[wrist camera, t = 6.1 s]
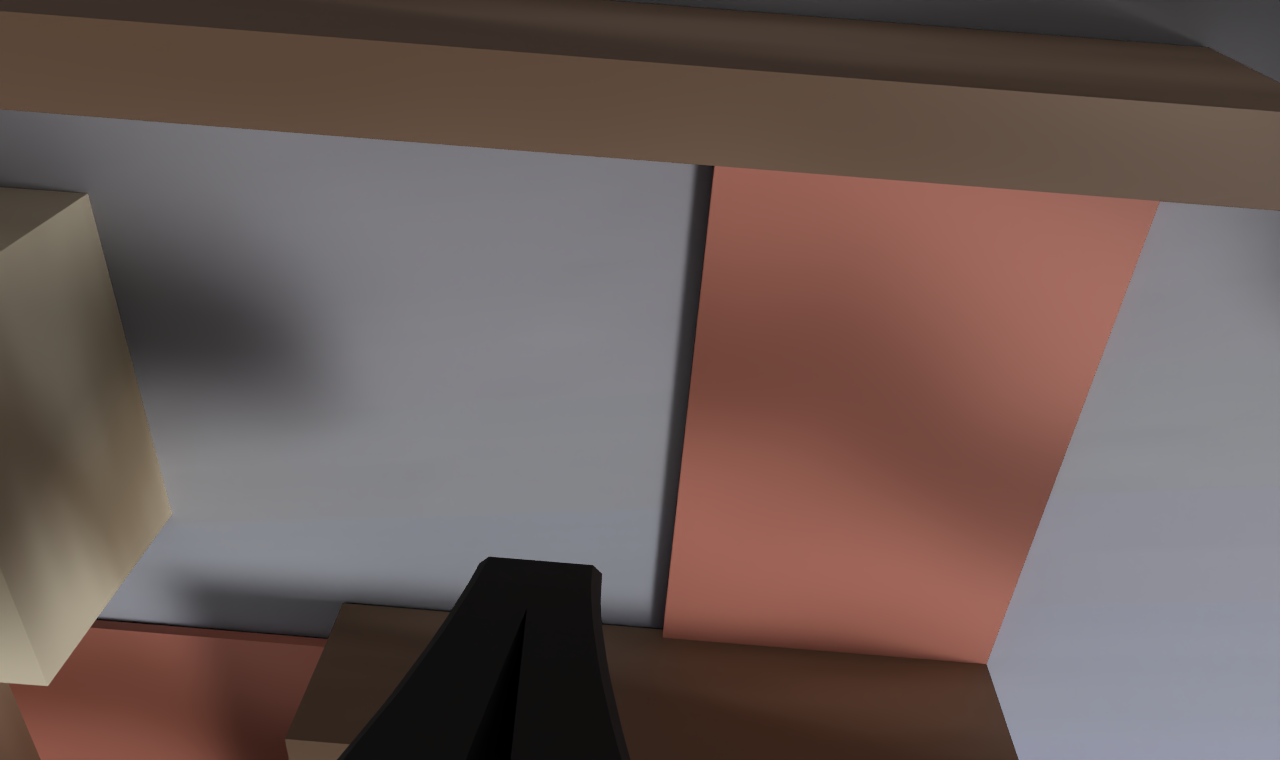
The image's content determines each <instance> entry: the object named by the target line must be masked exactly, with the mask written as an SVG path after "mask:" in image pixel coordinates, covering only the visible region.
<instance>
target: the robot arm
mask: <svg viewBox="0 0 1280 760" xmlns="http://www.w3.org/2000/svg"><path fill="white" fill-rule="evenodd" d="M601 583H602V573H601V572H599V571H598V570H597V569H596V568H595V567H594V566H593V565H583V564H571V563H559V562H547V561H535V560H522V559H510V558H498V557H488V558H487V559H485V560H484V561H482V562H481V563H479V565H478V567H477V569H476V571H475V573H474V574H473V576H472V578H471V580H470V581H469V583H468V585H467V586H466V588H465V590H464V591H463V593H462V594H461V596H460V598H459V599H458V601H457V602H456V604H455V606H454V607H453V609H452V610H451V612H450V613H449V615H448V616H447V618H446V619H445V621H444V622H443V624H442V625H441V627H440V628H439V629H438V631H437V632H436V634H435V635H434V637H433V638H432V640H431V641H430V643H429V644H428V645H427V647H426V648H425V649H424V651H423V652H422V653H421V655H420V656H419V658H418V659H417V660H416V662H415V663H414V664H413V666H412V667H411V668H410V670H409V671H408V672H407V674H406V675H405V676H404V678H403V679H402V680H401V682H400V683H399V684H398V686H397V687H396V688H395V690H394V691H393V692H392V694H391V695H390V696H389V697H388V699H387V700H386V701H385V703H384V704H383V705H382V706H381V708H380V709H379V710H378V711H377V712H376V714H375V715H374V716H373V717H372V718H371V720H370V721H369V722H368V723H367V724H366V726H365V727H364V728H363V729H362V730H361V732H360V733H359V734H358V735H357V736H356V738H355V739H354V740H353V741H352V742H351V743H350V745H349V746H348V747H347V748H346V749H345V751H344V752H343V753H342V754H341V755H340V757H339V758H338V759H337V760H630V756H629V753H628V749H627V745H626V742H625V738H624V734H623V731H622V727H621V722H620V718H619V714H618V709H617V705H616V701H615V696H614V692H613V688H612V683H611V679H610V673H609V668H608V663H607V657H606V650H605V643H604V636H603V629H602V618H601Z"/></svg>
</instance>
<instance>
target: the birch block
mask: <svg viewBox="0 0 1280 760" xmlns="http://www.w3.org/2000/svg"><path fill="white" fill-rule="evenodd" d="M171 515H172V513H171V509H170V505H169V501H168V498H167V494H166V490H165V486H164V482H163V478H162V475H161V471H160V467H159V463H158V459H157V456H156V452H155V448H154V444H153V440H152V437H151V433H150V429H149V425H148V421H147V417H146V414H145V410H144V406H143V402H142V398H141V395H140V391H139V387H138V383H137V379H136V376H135V372H134V368H133V364H132V360H131V356H130V353H129V349H128V345H127V341H126V337H125V334H124V330H123V326H122V322H121V318H120V314H119V311H118V307H117V303H116V299H115V295H114V292H113V288H112V284H111V280H110V276H109V273H108V269H107V265H106V261H105V257H104V253H103V250H102V246H101V242H100V238H99V234H98V231H97V227H96V223H95V219H94V215H93V212H92V208H91V204H90V200H89V196H88V193H75V192H61V191H47V190H34V189H20V188H6V187H0V682H2V683H15V684H27V685H40V686H48V685H49V684H50V683H51V681H52V680H53V678H54V677H55V676H56V674H57V673H58V671H59V670H60V669H61V667H62V666H63V665H64V663H65V662H66V660H67V659H68V658H69V656H70V655H71V653H72V652H73V651H74V649H75V648H76V647H77V645H78V644H79V642H80V641H81V640H82V638H83V637H84V635H85V634H86V633H87V631H88V630H89V629H90V627H91V626H92V624H93V623H94V622H95V620H96V619H97V617H98V616H99V615H100V613H101V612H102V611H103V609H104V608H105V606H106V605H107V604H108V602H109V601H110V599H111V598H112V597H113V595H114V594H115V593H116V591H117V590H118V588H119V587H120V586H121V584H122V583H123V581H124V580H125V579H126V577H127V576H128V575H129V573H130V572H131V570H132V569H133V568H134V566H135V565H136V563H137V562H138V561H139V559H140V558H141V557H142V555H143V554H144V552H145V551H146V550H147V548H148V547H149V545H150V544H151V543H152V541H153V540H154V538H155V537H156V536H157V534H158V533H159V532H160V530H161V529H162V527H163V526H164V525H165V523H166V522H167V520H168V519H169V518H170V516H171Z"/></svg>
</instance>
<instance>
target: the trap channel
mask: <svg viewBox="0 0 1280 760" xmlns="http://www.w3.org/2000/svg"><path fill="white" fill-rule="evenodd" d="M0 109H4V110H17V111H29V112H42V113H54V114H67V115H80V116H92V117H105V118H117V119H130V120H143V121H155V122H168V123H180V124H193V125H206V126H218V127H231V128H243V129H256V130H269V131H281V132H294V133H306V134H319V135H332V136H344V137H357V138H369V139H382V140H395V141H407V142H420V143H432V144H445V145H458V146H470V147H483V148H495V149H508V150H521V151H533V152H546V153H558V154H571V155H584V156H596V157H609V158H621V159H634V160H647V161H659V162H672V163H684V164H697V165H710V166H714V169H713V178H712V187H711V197H710V206H709V215H708V224H707V233H706V242H705V251H704V260H703V269H702V278H701V287H700V296H699V306H698V315H697V324H696V333H695V342H694V351H693V360H692V369H691V378H690V387H689V396H688V405H687V414H686V424H685V433H684V442H683V451H682V460H681V469H680V478H679V487H678V496H677V505H676V514H675V523H674V532H673V542H672V551H671V560H670V569H669V578H668V587H667V596H666V605H665V614H664V623H663V630H662V629H650V628H638V627H626V626H614V625H602V629H603V636H604V643H605V650H606V657H607V663H608V668H609V673H610V679H611V683H612V688H613V692H614V696H615V701H616V705H617V709H618V714H619V718H620V722H621V727H622V731H623V734H624V738H625V742H626V745H627V749H628V753H629V756H630V760H1018V757H1017V754H1016V751H1015V748H1014V745H1013V742H1012V739H1011V736H1010V733H1009V730H1008V727H1007V724H1006V721H1005V718H1004V715H1003V712H1002V709H1001V706H1000V703H999V700H998V697H997V694H996V691H995V688H994V685H993V682H992V679H991V676H990V673H989V671H988V668H987V665H986V664H987V661H988V659H989V656H990V653H991V651H992V648H993V645H994V643H995V640H996V637H997V635H998V632H999V629H1000V627H1001V624H1002V621H1003V619H1004V616H1005V613H1006V611H1007V608H1008V605H1009V603H1010V600H1011V597H1012V595H1013V592H1014V589H1015V587H1016V584H1017V581H1018V579H1019V576H1020V573H1021V571H1022V568H1023V565H1024V563H1025V560H1026V557H1027V555H1028V552H1029V549H1030V547H1031V544H1032V541H1033V539H1034V536H1035V533H1036V531H1037V528H1038V525H1039V523H1040V520H1041V517H1042V515H1043V512H1044V509H1045V507H1046V504H1047V501H1048V499H1049V496H1050V493H1051V491H1052V488H1053V485H1054V483H1055V480H1056V477H1057V475H1058V472H1059V469H1060V467H1061V464H1062V461H1063V459H1064V456H1065V453H1066V451H1067V448H1068V445H1069V443H1070V440H1071V437H1072V435H1073V432H1074V429H1075V427H1076V424H1077V421H1078V418H1079V416H1080V413H1081V410H1082V408H1083V405H1084V402H1085V400H1086V397H1087V394H1088V392H1089V389H1090V386H1091V384H1092V381H1093V378H1094V376H1095V373H1096V370H1097V368H1098V365H1099V362H1100V360H1101V357H1102V354H1103V352H1104V349H1105V346H1106V344H1107V341H1108V338H1109V336H1110V333H1111V330H1112V328H1113V325H1114V322H1115V320H1116V317H1117V314H1118V312H1119V309H1120V306H1121V304H1122V301H1123V298H1124V296H1125V293H1126V290H1127V288H1128V285H1129V282H1130V280H1131V277H1132V274H1133V272H1134V269H1135V266H1136V264H1137V261H1138V258H1139V256H1140V253H1141V250H1142V248H1143V245H1144V242H1145V240H1146V237H1147V234H1148V232H1149V229H1150V226H1151V224H1152V221H1153V218H1154V216H1155V213H1156V210H1157V208H1158V205H1159V202H1160V201H1163V202H1176V203H1188V204H1201V205H1214V206H1226V207H1239V208H1251V209H1264V210H1277V211H1280V83H1279V82H1277V81H1275V80H1273V79H1271V78H1269V77H1267V76H1265V75H1263V74H1261V73H1259V72H1257V71H1255V70H1253V69H1251V68H1249V67H1247V66H1245V65H1243V64H1241V63H1239V62H1237V61H1235V60H1233V59H1231V58H1229V57H1227V56H1225V55H1223V54H1221V53H1219V52H1217V51H1215V50H1213V49H1211V48H1209V47H1196V46H1183V45H1171V44H1158V43H1145V42H1132V41H1120V40H1107V39H1094V38H1081V37H1069V36H1056V35H1043V34H1030V33H1018V32H1005V31H992V30H979V29H967V28H954V27H941V26H928V25H916V24H903V23H890V22H877V21H865V20H852V19H839V18H826V17H814V16H801V15H788V14H775V13H763V12H750V11H737V10H724V9H712V8H699V7H686V6H673V5H661V4H648V3H635V2H622V1H610V0H0ZM449 613H450V612H443V611H431V610H419V609H407V608H395V607H383V606H370V605H358V604H346V603H343V605H342V607H341V610H340V612H339V614H338V617H337V619H336V621H335V624H334V626H333V628H332V631H331V633H330V635H329V638H328V639H321V638H309V637H297V636H285V635H273V634H261V633H248V632H236V631H224V630H212V629H200V628H188V627H176V626H164V625H151V624H139V623H127V622H115V621H103V620H95V622H94V623H93V624H92V626H91V627H90V629H89V630H88V631H87V633H86V634H85V635H84V637H83V638H82V640H81V641H80V642H79V644H78V645H77V647H76V648H75V649H74V651H73V652H72V653H71V655H70V656H69V658H68V659H67V660H66V662H65V663H64V665H63V666H62V667H61V669H60V670H59V671H58V673H57V674H56V676H55V677H54V678H53V680H52V681H51V683H50V684H49V685H48V686H40V685H27V684H15V683H2V682H0V760H337V759H338V758H339V757H340V755H341V754H342V753H343V752H344V751H345V749H346V748H347V747H348V746H349V745H350V743H351V742H352V741H353V740H354V739H355V738H356V736H357V735H358V734H359V733H360V732H361V730H362V729H363V728H364V727H365V726H366V724H367V723H368V722H369V721H370V720H371V718H372V717H373V716H374V715H375V714H376V712H377V711H378V710H379V709H380V708H381V706H382V705H383V704H384V703H385V701H386V700H387V699H388V697H389V696H390V695H391V694H392V692H393V691H394V690H395V688H396V687H397V686H398V684H399V683H400V682H401V680H402V679H403V678H404V676H405V675H406V674H407V672H408V671H409V670H410V668H411V667H412V666H413V664H414V663H415V662H416V660H417V659H418V658H419V656H420V655H421V653H422V652H423V651H424V649H425V648H426V647H427V645H428V644H429V643H430V641H431V640H432V638H433V637H434V635H435V634H436V632H437V631H438V629H439V628H440V627H441V625H442V624H443V622H444V621H445V619H446V618H447V616H448V615H449Z"/></svg>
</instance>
